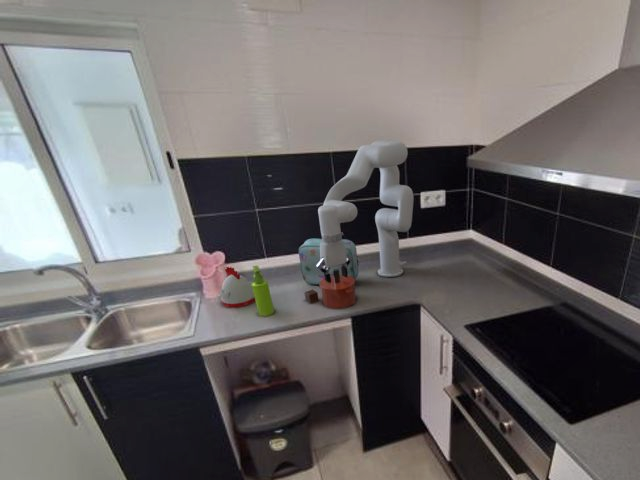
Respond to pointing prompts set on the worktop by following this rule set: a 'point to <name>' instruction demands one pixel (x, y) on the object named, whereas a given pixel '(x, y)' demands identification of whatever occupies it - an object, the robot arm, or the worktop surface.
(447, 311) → the worktop surface
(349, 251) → the lunch box
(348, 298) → the pot
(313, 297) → the block
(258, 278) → the soap dispenser
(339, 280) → the lid
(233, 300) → the kitchen timer
